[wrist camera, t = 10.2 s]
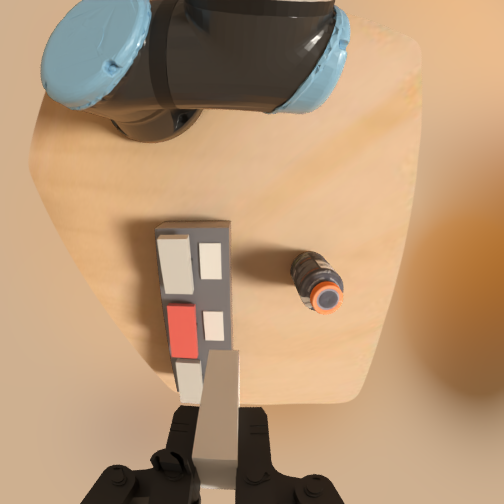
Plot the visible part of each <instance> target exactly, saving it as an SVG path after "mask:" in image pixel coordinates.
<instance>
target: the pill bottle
mask: <svg viewBox="0 0 504 504" xmlns="http://www.w3.org/2000/svg"><path fill="white" fill-rule="evenodd" d="M290 273H291V277H292V279H293V282H294V284H295V286H296V289H297V291H298V293H299V295H300V298H301V300H302V302H303V303H304V305H305V306H307V307H308V308H309V309H311V310H314V311H317V312H318V313H320V314H331V313H333V312H335V311H336V310H337V309H338V308H339V307H340V306H341V304H342V301H343V282H342V279H341V278H340V276H339V275H338V274H337V273H336V271H335V270H334V269H333V268H332V267H331V266H330V264H329V263H328V262H327V261H326V260H325V259H324V258H323V257H322V256H321V255H320V254H318V253H315V252H305V253H302V254H300V255H299V256H298V257H296V258H295V260H294V261H293V263H292V265H291V270H290Z"/></svg>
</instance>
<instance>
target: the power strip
mask: <svg viewBox="0 0 504 504" xmlns="http://www.w3.org/2000/svg"><path fill="white" fill-rule="evenodd" d="M160 235H189V242H190V253H191V263H192V273H193V282H194V291H193V294H165V288H164V282H163V276H162V270H161V264H160V257H159V250H158V243H157V239H158V237H159V236H160ZM155 239H156V252H157V263H158V273H159V282H160V290H161V298H162V306H163V313H164V320H165V327H166V333H167V340H168V345H169V351H170V357H171V362H172V368H173V373H174V378H175V383H176V387H177V392H179V386H178V378H177V370H176V360H177V357H172V354H171V345H170V335H169V324H168V312H167V305H168V304H169V303H181V304H195V306H196V325H197V341H198V357H197V360H201V368H202V380H203V383H204V377H205V372H206V366H207V360H208V354H209V350H233V322H232V277H231V221H178V222H164V223H162V224H161V225H159V226H158V227H156V228H155ZM179 359H195V358H179Z"/></svg>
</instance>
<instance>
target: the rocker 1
mask: <svg viewBox="0 0 504 504" xmlns="http://www.w3.org/2000/svg"><path fill="white" fill-rule="evenodd" d="M157 243H158V250H159V257H160V264H161V270H162V276H163V282H164V288H165V294H193V291H194V282H193V273H192V263H191V253H190V242H189V235H160V236H159V237H158V239H157Z"/></svg>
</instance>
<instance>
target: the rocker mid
mask: <svg viewBox="0 0 504 504" xmlns="http://www.w3.org/2000/svg"><path fill="white" fill-rule="evenodd" d="M167 312H168V324H169V335H170V345H171V354H172V357H177V358H195V359H197V357H198V341H197V325H196V306H195V304H181V303H169V304H168V305H167Z"/></svg>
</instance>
